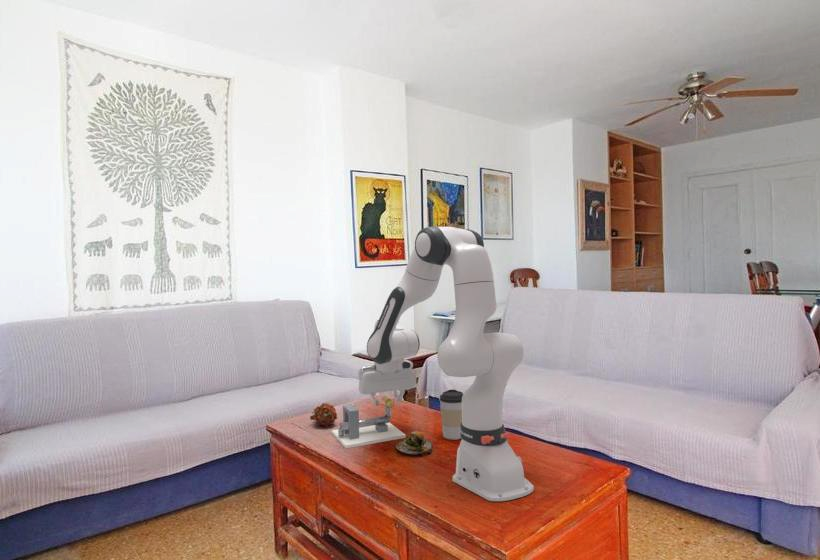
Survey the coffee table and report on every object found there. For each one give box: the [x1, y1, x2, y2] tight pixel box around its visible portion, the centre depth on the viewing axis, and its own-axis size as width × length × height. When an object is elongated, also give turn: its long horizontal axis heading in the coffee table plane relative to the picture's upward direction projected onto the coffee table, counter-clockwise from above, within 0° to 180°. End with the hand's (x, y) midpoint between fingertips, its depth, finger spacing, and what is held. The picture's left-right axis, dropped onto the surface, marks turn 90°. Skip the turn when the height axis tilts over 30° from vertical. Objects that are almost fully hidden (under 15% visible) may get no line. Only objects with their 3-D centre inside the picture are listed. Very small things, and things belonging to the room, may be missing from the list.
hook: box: [337, 395, 395, 436], centre depth 167 cm, size 19×6×10 cm, turn 115°
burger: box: [394, 425, 434, 457], centre depth 154 cm, size 12×12×8 cm
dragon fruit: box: [309, 402, 338, 427], centre depth 180 cm, size 8×8×12 cm
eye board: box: [331, 403, 407, 450], centre depth 168 cm, size 21×16×10 cm
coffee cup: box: [438, 389, 464, 440], centre depth 166 cm, size 9×9×15 cm
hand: (387, 403), depth 171 cm, fingers open, 7 cm apart
